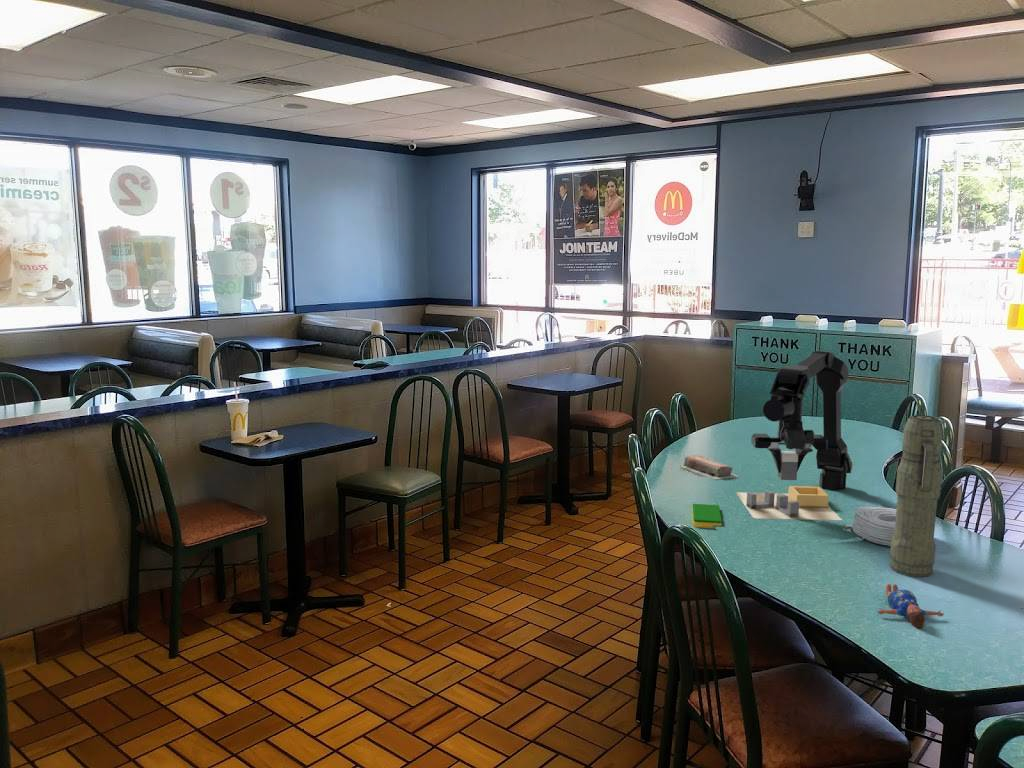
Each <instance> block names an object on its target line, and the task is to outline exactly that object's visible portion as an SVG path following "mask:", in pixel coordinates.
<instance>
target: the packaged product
mask: <svg viewBox="0 0 1024 768" xmlns="http://www.w3.org/2000/svg"><path fill="white" fill-rule="evenodd" d="M683 460H684V462H683V465H682V464H681V465H679V469H680V468H681V469H683V470H682V471H684V470H686V471H688V472H687V473H689V472H691V473H693V474H692V475H694V474H695V475H694V476H696V475H698V476H697V477H699V476H701V477H700V478H708V479H711V480H713V481H719V480H725V479H732V478H740V475H736V474H734V473H732V471H733V467H732V466H729V465H726V464H724V463H722V462H720V461H715V460H714V459H710V458H709V457H705V456H703V455H700V454H694V455H687V456H685V457H684V459H683ZM681 469H680V470H681ZM686 471H685V472H686ZM691 473H690V474H691Z"/></svg>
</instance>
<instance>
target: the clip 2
mask: <svg viewBox="0 0 1024 768" xmlns="http://www.w3.org/2000/svg"><path fill="white" fill-rule="evenodd" d="M776 509H777V510H778V511H780V512H782V513H783V514H785V515H787V516H788V517H798V515H799V502H798V501H788V496H787V495H777V502H776Z"/></svg>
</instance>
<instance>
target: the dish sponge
mask: <svg viewBox="0 0 1024 768" xmlns="http://www.w3.org/2000/svg"><path fill="white" fill-rule="evenodd" d="M691 507H692V513H691V514H692V526H693V528H705V529H717V527H716V526H722V523H723V522H722V515H721V509H720V505H719V504H705V503H703V504H702V503H692V506H691Z"/></svg>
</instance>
